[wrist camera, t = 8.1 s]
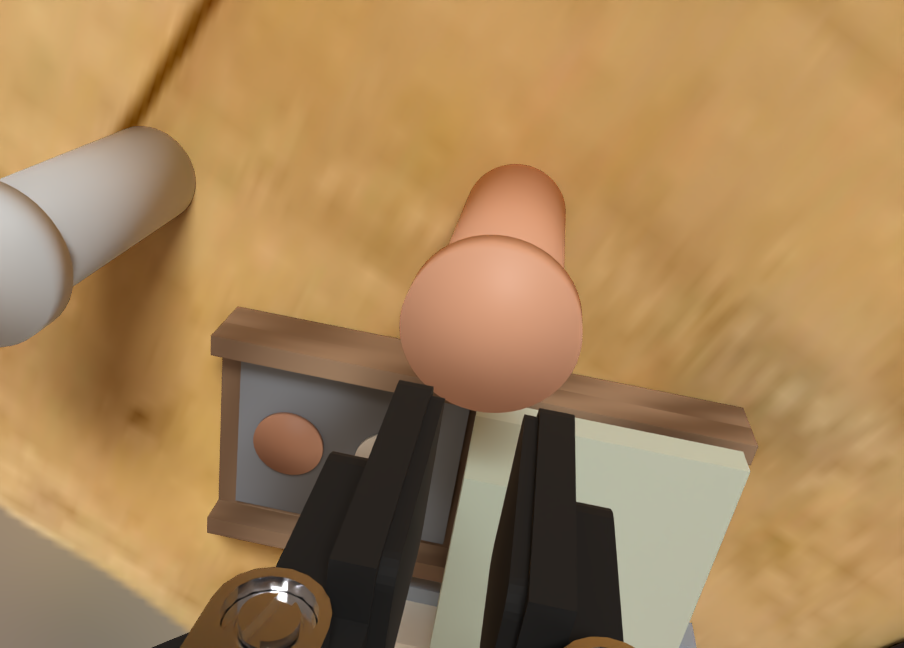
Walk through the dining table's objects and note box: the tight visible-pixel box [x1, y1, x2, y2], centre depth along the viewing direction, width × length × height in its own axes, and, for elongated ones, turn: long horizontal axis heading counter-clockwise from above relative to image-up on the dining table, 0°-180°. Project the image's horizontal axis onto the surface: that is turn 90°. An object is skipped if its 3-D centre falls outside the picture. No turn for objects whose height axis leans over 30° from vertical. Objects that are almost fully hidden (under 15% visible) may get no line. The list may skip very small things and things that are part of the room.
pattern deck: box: [207, 307, 758, 583], centre depth 27 cm, size 17×8×2 cm, turn 81°
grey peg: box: [0, 126, 196, 347], centre depth 21 cm, size 4×4×8 cm
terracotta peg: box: [399, 164, 582, 413], centre depth 20 cm, size 4×4×8 cm
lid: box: [429, 408, 750, 648], centre depth 23 cm, size 8×8×4 cm
